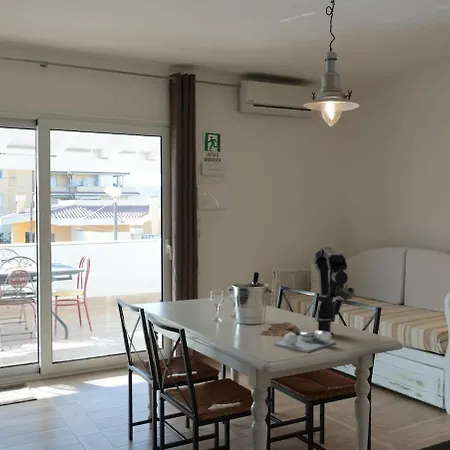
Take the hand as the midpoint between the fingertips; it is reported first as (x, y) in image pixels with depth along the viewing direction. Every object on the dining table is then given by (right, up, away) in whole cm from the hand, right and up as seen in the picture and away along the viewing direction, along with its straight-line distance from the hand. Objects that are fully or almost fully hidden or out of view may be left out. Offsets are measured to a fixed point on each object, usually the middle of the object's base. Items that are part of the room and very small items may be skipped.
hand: (334, 315), depth 255 cm
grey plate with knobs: (-14, -13, -2) cm, 19 cm away
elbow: (-9, -11, -1) cm, 15 cm away
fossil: (-24, -13, +21) cm, 34 cm away
